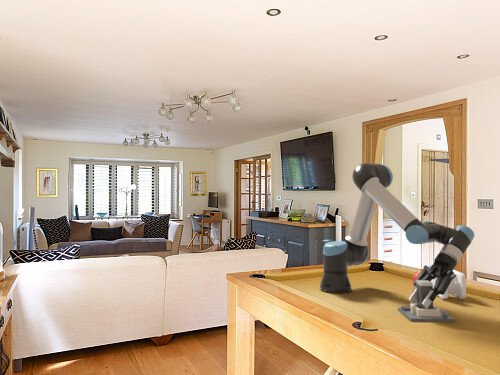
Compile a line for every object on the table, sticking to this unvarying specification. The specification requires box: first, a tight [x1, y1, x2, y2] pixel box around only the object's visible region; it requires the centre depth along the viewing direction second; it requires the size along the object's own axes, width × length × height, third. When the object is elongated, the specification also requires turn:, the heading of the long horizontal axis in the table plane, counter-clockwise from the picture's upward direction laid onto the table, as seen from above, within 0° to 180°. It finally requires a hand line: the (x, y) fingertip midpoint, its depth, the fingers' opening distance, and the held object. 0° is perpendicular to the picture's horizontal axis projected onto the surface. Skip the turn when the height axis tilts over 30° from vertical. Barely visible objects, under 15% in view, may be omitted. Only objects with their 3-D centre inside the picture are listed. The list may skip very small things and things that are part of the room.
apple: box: [412, 271, 422, 288], centre depth 194 cm, size 8×8×8 cm
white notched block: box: [430, 269, 467, 300], centre depth 176 cm, size 15×11×12 cm
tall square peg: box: [416, 280, 434, 309], centre depth 148 cm, size 4×4×12 cm
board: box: [397, 303, 456, 323], centre depth 147 cm, size 16×14×4 cm
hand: (417, 303), depth 146 cm, fingers closed on tall square peg, 6 cm apart
